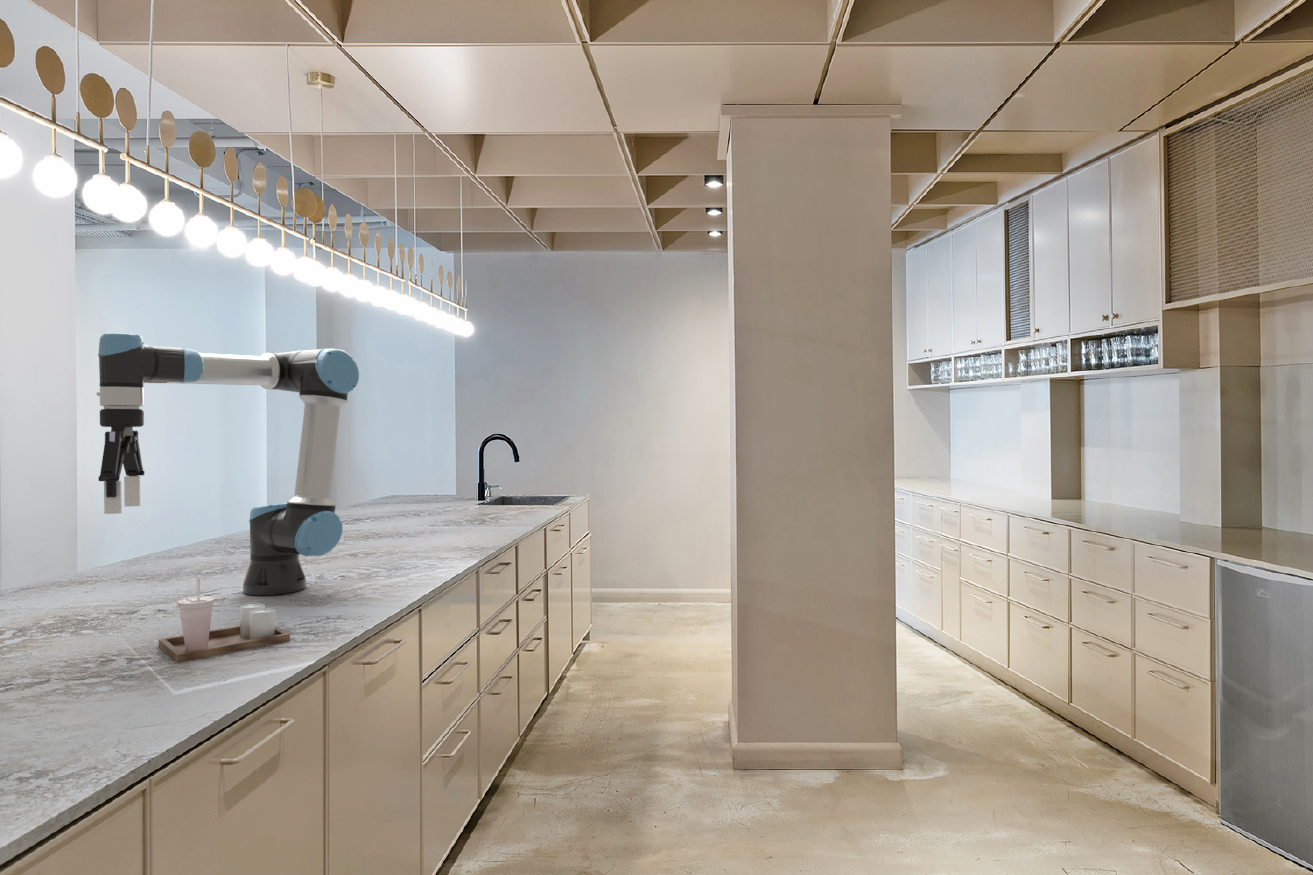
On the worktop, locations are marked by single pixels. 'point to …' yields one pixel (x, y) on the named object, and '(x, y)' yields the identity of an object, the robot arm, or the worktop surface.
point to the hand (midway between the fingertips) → (123, 509)
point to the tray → (219, 643)
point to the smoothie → (196, 619)
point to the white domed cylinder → (262, 623)
